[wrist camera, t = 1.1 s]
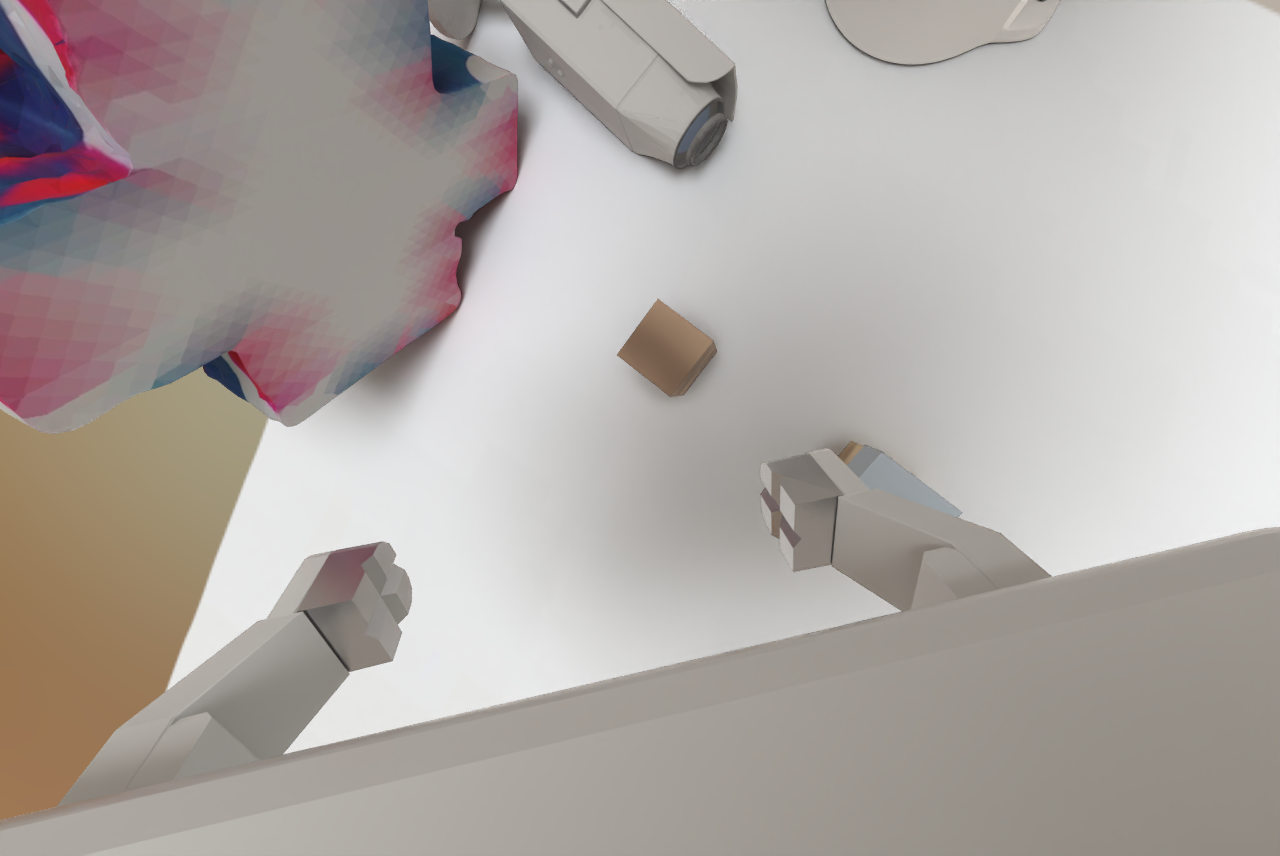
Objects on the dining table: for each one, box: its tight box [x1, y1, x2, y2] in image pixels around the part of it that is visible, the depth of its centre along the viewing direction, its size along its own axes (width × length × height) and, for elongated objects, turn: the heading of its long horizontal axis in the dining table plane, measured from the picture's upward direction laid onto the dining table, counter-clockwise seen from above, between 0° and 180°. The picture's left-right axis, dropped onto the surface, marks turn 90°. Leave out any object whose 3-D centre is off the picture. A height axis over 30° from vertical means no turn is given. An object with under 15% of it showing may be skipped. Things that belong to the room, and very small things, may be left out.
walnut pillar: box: [617, 299, 717, 397], centre depth 35 cm, size 4×4×9 cm
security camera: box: [428, 0, 737, 169], centre depth 36 cm, size 8×24×15 cm
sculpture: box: [0, 0, 518, 434], centre depth 28 cm, size 30×8×30 cm, turn 152°
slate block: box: [847, 445, 962, 518], centre depth 32 cm, size 6×6×4 cm
